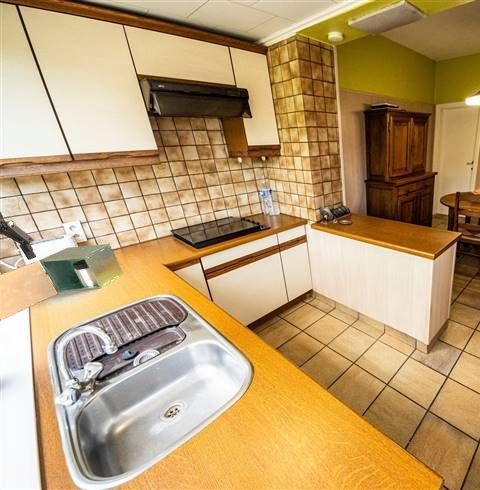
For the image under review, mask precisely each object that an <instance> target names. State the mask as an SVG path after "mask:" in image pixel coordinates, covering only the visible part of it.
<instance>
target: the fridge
mask: <svg viewBox="0 0 480 490" xmlns="http://www.w3.org/2000/svg"><path fill="white" fill-rule="evenodd" d="M83 259H85V261H86V263H87V265H88V267H89V269H90V271H91V272H92V274H93V276H94V278H95V280H96V282H97V284H95V285H92V286H85V285H83V284H82V282H81V281H80V279H79V277H78V275H77V273H76V272H75V270H74V269H75V268H74V266H73V264H74V263H75V262H77V261H80V260H83ZM38 262H39V264H40V265H41V267H42V269H43V270H44V272H45V274H46V275H47V277H48V278H49V280H50V282H51V283H52V285H53V286H54V288H55V290H56V291H57V293H65V292H67V293H68V292H76V291H77V292H79V291H88V290H97V289H98V290H99V289H103V288H105V287H106V286H108V285H110V284H111V283H112V282H113V281H115V280H116V279H118V278H120V277H121V276H122V275H124V271H123V269H122V267H121V265H120V263H119V260H118V258H117V257H116V255H115V252H114V251H113V249H112V246H111V245H110V243H105V244H95V245H82V246H70V247H65V248H63V249H61V250H59V251H57V252H55V253H52V254H50V255H48V256H46V257H43V258H41V259H39V260H38Z"/></svg>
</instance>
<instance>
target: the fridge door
mask: <svg viewBox="0 0 480 490" xmlns="http://www.w3.org/2000/svg"><path fill="white" fill-rule="evenodd" d="M58 293H59V292H58V291H57V289H56V287H55V286H54V284H53V282H52V281H51V279H50V278H49V276H48V274H47V273H46V271H45V269H44V268H43V266H42V265H41V263H40V261H33V262H30V263H28V264H25V265H21V266H20V267H17V268H14V269H11V270H8V271H6V272H3V273H0V321H3V320H5V319H7V318H9V317H11V316H13V315H16V314H17V313H19V312H21V311H24V310H26V309H28V308H30V307H32V306H35V305H36V304H39V303H41V302H42V301H44V300H47V299H49V298H51V297H53V296H56V295H58Z"/></svg>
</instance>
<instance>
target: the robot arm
mask: <svg viewBox="0 0 480 490" xmlns="http://www.w3.org/2000/svg"><path fill="white" fill-rule="evenodd" d="M3 218H4V216H3V214H2V213H1V211H0V235H2V236H5V237H6V238H8V239H10V240H12V241H14V242H16V243H17V244H19V248H20V250H21V251H22V253H23V254H24V256H25V257H26V259H27V260H28V261H31V260H33V259H35V258H37V255H36V253H35V252H34V248H33V246H32V245H31V243H32V242H34V241H35V239H34V238H33V237H32V236H31V235H29V234H28V233H27V232H26V231H24V230H23V229H22V228H21V227H19V226H18V225H17V224H16V223H15V221H14V220H12V219H11V220H8V221H4V220H3Z"/></svg>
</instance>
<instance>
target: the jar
mask: <svg viewBox="0 0 480 490" xmlns="http://www.w3.org/2000/svg"><path fill="white" fill-rule="evenodd" d="M73 266H74V268H75V269H74V270H75V272H76V273H77V275H78V277H79V279H80V281H81V282H82V284H83V285H85V286H92V285H95V284H97V282H96V280H95V278H94V276H93V274H92V272H91V271H90V269H89V267H88V265H87V263H86V261H85V259H83V260H80V261H77V262H75V263H74V264H73Z"/></svg>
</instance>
